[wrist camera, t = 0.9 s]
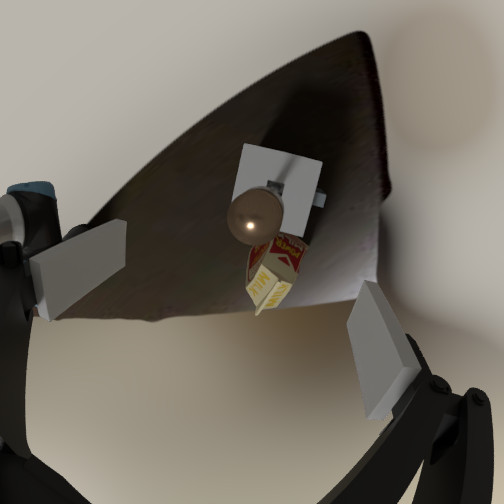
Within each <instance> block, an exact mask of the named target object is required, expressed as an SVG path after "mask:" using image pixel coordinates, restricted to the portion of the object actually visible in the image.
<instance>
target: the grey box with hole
mask: <svg viewBox="0 0 504 504" xmlns="http://www.w3.org/2000/svg"><path fill="white" fill-rule="evenodd" d="M322 163H323V162H320V161H317V160H313V159H309V158H306V157H302V156H298V155H294V154H290V153H286V152H282V151H277V150H273V149H269V148H264V147H260V146H255V145H250V144H245V143H244V146H243V151H242V155H241V160H240V164H239V169H238V174H237V178H236V183H235V188H234V193H233V198H232V202H233V200H234V199H235V198H236V197H238V196H239V195H241V194H242V193H244V192H245V191H247V190H248V189H250V188H252V187H256V186H266V187H267V185H268V180H271V181H275V182H279V183H283V184H285V185H284V189H283V193H282V197H281V198H282V200H283V203H284V216H283V221H282V225H281V228H280V231H281V232H285V233H289V234H292V235H296V236H300V237H303V234H304V231H305V227H306V224H307V220H308V216H309V213H310V209H311V205H315V206H318V207H322V208H323V206H324V203H325V199H326V194H325V193H324V191H323V190H322V189H320V188H317V187H316V186H317V183H318V179H319V175H320V171H321V167H322Z"/></svg>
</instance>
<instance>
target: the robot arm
mask: <svg viewBox="0 0 504 504" xmlns="http://www.w3.org/2000/svg"><path fill="white" fill-rule="evenodd" d="M126 223H127V221H123V220H119V219H115V220H112V221H110V222H107V223H105V224H103V225H100V226H98V227H95V228H94V227H93V226H91V225H88V224H81V225H78V226H76V227H74V228H72V229H71V230H70V231H69V232H68V233H67V234H66V235H65V236H64V237H63V238H62V236H61V230H60V224H59V217H58V209H57V199H56V197H55V190H54V187H53V185H52V184H51V183H50V182H46V181H36V182H28V183H20V184H15V185H12V186H10V187H8V189H7V194H5V195H3V196H2V197H1V198H0V504H91V503H90V502H89V501H88V500H87V499H86V498H85V497H83V496H82V495H81V494H80V493H79V492H78V491H77V490H76V489H75V488H74V487H73V486H72V485H71V484H70V483H68V481H66V479H65V478H64V477H63V476H61V475H60V474H58V473H57V472H56V471H54V470H53V469H51V468H50V467H48V466H47V465H46V464H45V463H43V462H42V461H41V460H39V459H38V458H37V457H36V456H34V455H33V454H32V453H31V451H30V449H29V446H28V444H27V438H26V423H25V386H26V370H27V358H28V347H29V340H30V333H31V327H32V321H33V309H32V307H34V306H36V307H38V311H39V316H41V317H42V318H44V319H46V320H47V321H49V322H51V321H52V320H53V319H55V318H56V317H57V316H58V315H60V314H61V313H62V312H64V311H65V310H66V309H67V308H69V307H70V306H71V305H73V304H74V303H75V302H76V301H78V300H79V299H80V298H82V297H83V296H84V295H86V294H87V293H88V292H90V291H91V290H92V289H94V288H95V287H96V286H98V285H99V284H101V283H102V282H103V281H105V280H106V279H107V278H109V277H110V276H112V275H113V274H114V273H116V272H117V271H119V270H120V269H121V268H123V267H124V266H125V244H126ZM347 328H348V333H349V337H350V341H351V345H352V350H353V354H354V358H355V363H356V368H357V372H358V377H359V382H360V387H361V392H362V398H363V403H364V409H365V414H366V419H373V420H384V419H385V417H386V416H387V415H388V414H389V412H390V411H391V410H392V414H393V419H392V420H391V421H390V423H389V424H388V425H387V426H386V427H385V428H384V429H383V431H382V432H381V433H380V434H379V435H380V436H379V437H378V439H377V440H376V441H375V442H374V444H373V445H372V446H371V447H370V449H369V450H368V451H367V452H366V453H365V455H364V456H363V457H362V458H361V459H360V460H359V462H358V463H357V464H356V465H355V466H354V467H353V468H352V470H350V472H349V473H348V474H347V475H346V476H345V477H344V478H343V479H342V480H341V481H340V482H339V483H338V484H337V485H336V486H335V487H334V488H333V489H332V490H331V491H330V492H329V493H328V494H327V495H326V496H325V497H324V498H323V499H322V500H320V501H319V502H318V503H317V504H397V503H398V502H399V500H400V499H401V497H402V496H403V494H404V493H405V491H406V489H407V488H408V486H409V485H410V483H411V481H412V479H413V478H414V476H415V474H416V473H417V471H418V469H419V467H420V465H421V463H422V461H423V460H424V462H423V466H422V470H421V474H420V478H419V482H418V485H417V489H416V492H415V495H414V498H413V502H412V504H491V501H492V491H493V476H494V440H493V425H492V415H491V405H490V401H489V398H488V397H487V395H486V393H485V392H484V391H482V390H480V389H478V388H470V389H469V390H467V392H466V393H465V394H464V396H460V395H457V394H454V393H452V390H451V387H450V385H449V384H448V383H447V381H445V380H444V379H443V378H442V377H439V376H437V375H432V373H431V371H430V369H429V367H428V365H427V363H426V360H425V358H424V357H423V355H422V353H421V351H420V350H419V347H418V345H417V343H416V341H415V340H414V339H413V338H412V337H411V336H410V335H409V334H405V333H404V331H403V329H402V327H401V326H400V324H399V322H398V320H397V318H396V316H395V314H394V312H393V311H392V309H391V307H390V305H389V303H388V301H387V299H386V298H385V296H384V294H383V292H382V291H381V289H380V287H379V285H378V284H377V283H375V282H371V281H367V280H364V282H363V285H362V287H361V290H360V293H359V295H358V298H357V300H356V302H355V305H354V307H353V310H352V312H351V315H350V317H349V319H348V322H347Z"/></svg>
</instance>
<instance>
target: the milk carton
mask: <svg viewBox="0 0 504 504" xmlns="http://www.w3.org/2000/svg"><path fill="white" fill-rule="evenodd" d="M308 247H309V246H308V245H307V244H305V243H304V242H303V241H302V240H300V239H299V238H298V237H297V236H295V235H292V234H289V233H285V232H281V231H279V233H278V234H277V236H276V237H275V238H274V239H273V240H271V241H270V242H268V243H266V244H263V245H256V246H255V245H253V247H252V248H251V250H250V253H249V257H248V263H247V270H246V290H247V291H248V293H249V295H250V297H251V298H252V300H253V302H254V303H255V305H256V312H255V316H257V315H258V314H259V313H260V311H261V310H262V309H269V308H276V307H277V306H278V305H279V303H280V302H281V301H282V299H283V298H284V297H285V296H286V294H287V293H288V292H289V290H290V288H291V287H292V285H293V283H294V282H295V280H296V278H297V277H298V273H299V267H300V263H301V261H302V259H303V257H304V255H305V253H306V251H307V249H308Z"/></svg>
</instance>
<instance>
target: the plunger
mask: <svg viewBox="0 0 504 504" xmlns="http://www.w3.org/2000/svg"><path fill="white" fill-rule="evenodd" d="M284 185H285V184H283V183H279V182H275V181H271V180H268V185H267V187H266V186H256V187H252V188H250V189H248V190H247V191H245V192H244V193H242V194H241V195H239V196H238V197H236V198H235V199H234V200H233V202H232V203H231V205H230V206H229V209H228V213H227V222H228V226H229V229H230V231H231V232H232V234H233V235H234V236H235V237H236V238H237V239H238V240H239V241H241V242H243V243H245V244H248V245H255V246H256V245H263V244H266V243H268V242H270V241H271V240H273V239H274V238H275V237H276V236H277V234H278V233H279V231H280V228H281V225H282V221H283V216H284V203H283V200H282V198H281V197H282V193H283V189H284Z"/></svg>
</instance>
